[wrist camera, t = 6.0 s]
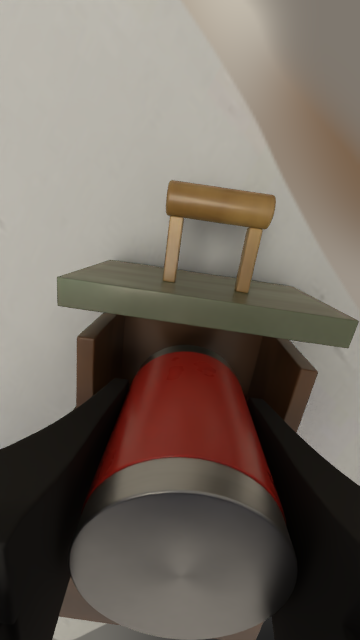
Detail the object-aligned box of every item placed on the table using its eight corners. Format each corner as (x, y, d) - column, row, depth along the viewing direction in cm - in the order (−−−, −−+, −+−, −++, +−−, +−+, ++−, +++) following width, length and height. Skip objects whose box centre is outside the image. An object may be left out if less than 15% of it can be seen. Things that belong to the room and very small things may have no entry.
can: (128, 428, 13) (65, 627, 6) (136, 335, 11) (63, 472, 5) (228, 442, 13) (267, 653, 6) (251, 351, 12) (334, 510, 5)
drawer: (113, 185, 15) (53, 148, 8) (314, 215, 15) (406, 200, 9) (102, 407, 20) (60, 490, 14) (252, 429, 20) (281, 522, 14)
